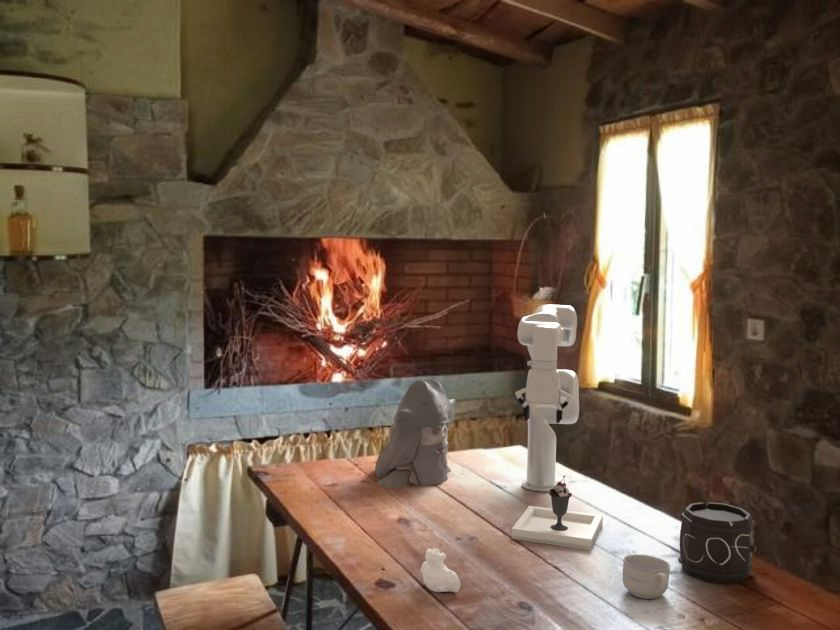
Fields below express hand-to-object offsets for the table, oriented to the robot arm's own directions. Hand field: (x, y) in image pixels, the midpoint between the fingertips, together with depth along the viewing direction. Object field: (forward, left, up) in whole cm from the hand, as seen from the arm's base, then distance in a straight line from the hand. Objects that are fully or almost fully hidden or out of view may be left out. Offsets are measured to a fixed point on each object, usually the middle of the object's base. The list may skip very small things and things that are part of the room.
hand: (542, 420), depth 256 cm
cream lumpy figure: (+68, -10, -28) cm, 74 cm away
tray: (+17, +9, -28) cm, 34 cm away
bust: (-19, -48, -28) cm, 59 cm away
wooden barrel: (+31, +52, -28) cm, 67 cm away
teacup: (+53, +37, -28) cm, 71 cm away
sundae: (+17, +9, -27) cm, 33 cm away
